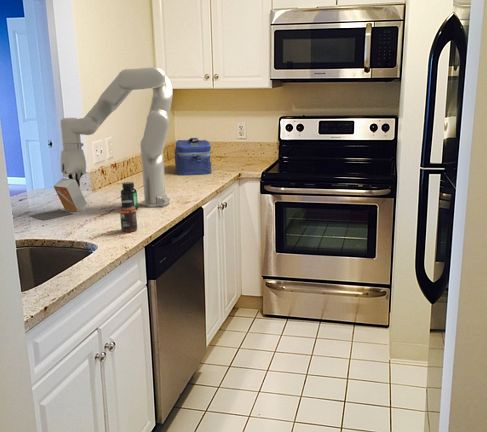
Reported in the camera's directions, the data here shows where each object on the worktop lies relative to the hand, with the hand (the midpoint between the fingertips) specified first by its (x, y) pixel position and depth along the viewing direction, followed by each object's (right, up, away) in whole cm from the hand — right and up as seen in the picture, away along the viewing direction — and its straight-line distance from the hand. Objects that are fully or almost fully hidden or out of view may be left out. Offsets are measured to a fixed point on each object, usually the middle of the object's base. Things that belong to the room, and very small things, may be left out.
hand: (76, 188), depth 245 cm
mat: (-8, -11, -7) cm, 16 cm away
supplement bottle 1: (+24, -10, -2) cm, 26 cm away
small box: (0, -8, +1) cm, 8 cm away
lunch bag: (+43, +15, +92) cm, 102 cm away
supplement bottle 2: (+30, -18, -34) cm, 49 cm away
